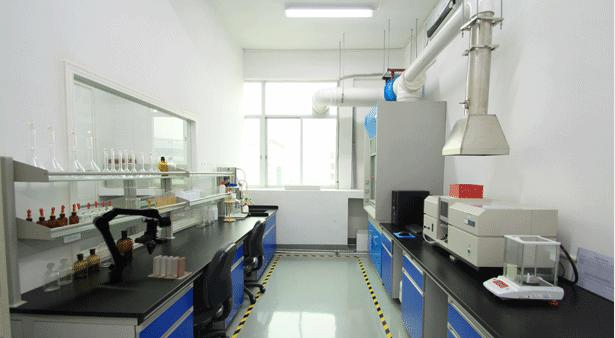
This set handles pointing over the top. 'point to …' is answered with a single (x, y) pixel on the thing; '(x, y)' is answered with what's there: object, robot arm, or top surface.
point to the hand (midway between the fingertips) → (150, 254)
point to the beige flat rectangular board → (170, 276)
